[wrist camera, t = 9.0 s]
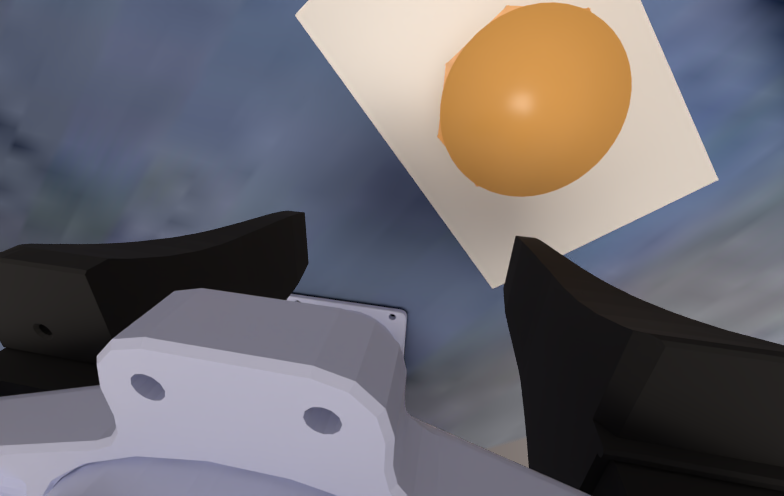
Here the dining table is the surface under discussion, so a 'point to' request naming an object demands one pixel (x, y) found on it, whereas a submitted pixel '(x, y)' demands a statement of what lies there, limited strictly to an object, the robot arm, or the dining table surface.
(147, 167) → the dining table surface
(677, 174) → the plate
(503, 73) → the cap
